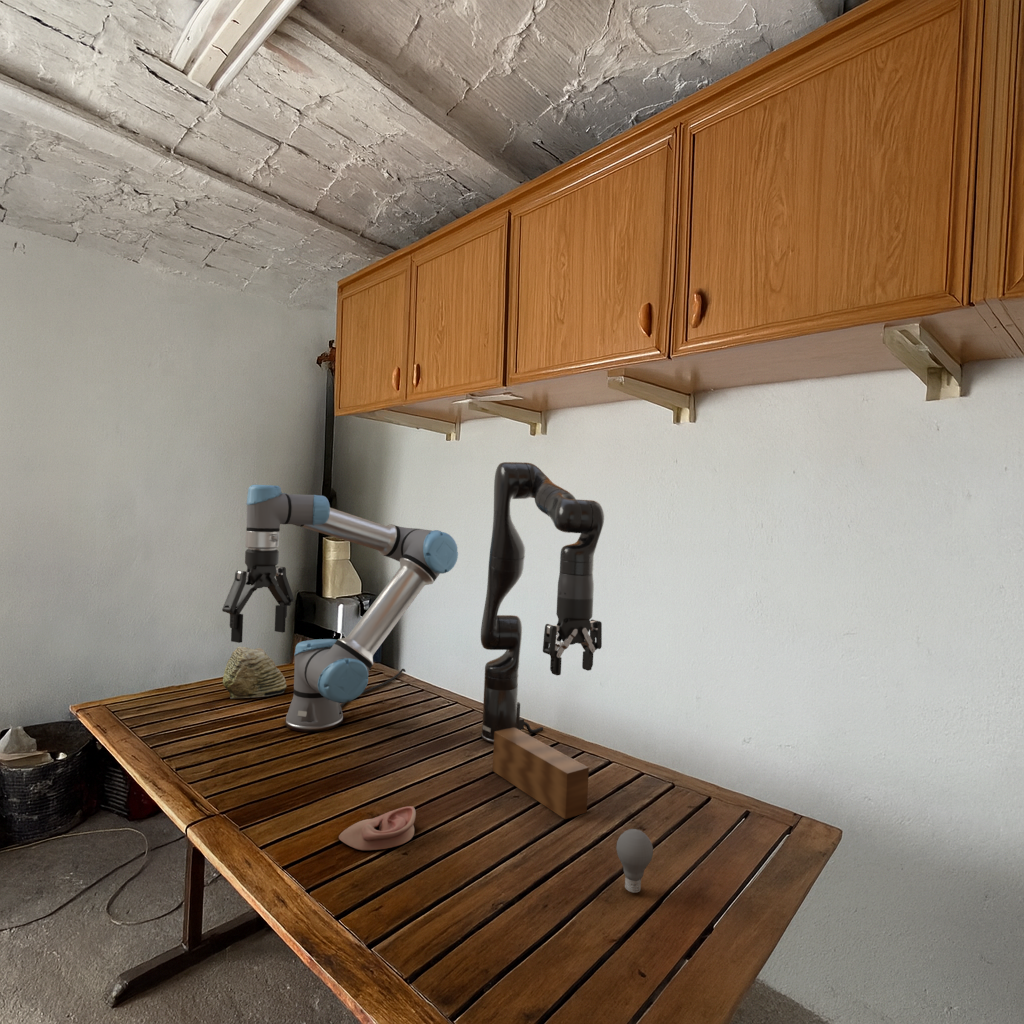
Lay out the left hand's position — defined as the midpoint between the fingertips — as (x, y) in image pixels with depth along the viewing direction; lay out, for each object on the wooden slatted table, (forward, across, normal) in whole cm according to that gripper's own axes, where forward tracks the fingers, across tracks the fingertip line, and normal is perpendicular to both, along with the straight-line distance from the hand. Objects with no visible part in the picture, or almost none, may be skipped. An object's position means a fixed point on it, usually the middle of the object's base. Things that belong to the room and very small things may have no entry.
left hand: (259, 636), depth 153 cm
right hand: (0, +11, -76) cm, 76 cm away
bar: (+29, +16, -67) cm, 75 cm away
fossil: (+29, +34, +35) cm, 56 cm away
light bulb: (+29, -11, -95) cm, 100 cm away
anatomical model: (+29, -16, -48) cm, 58 cm away
